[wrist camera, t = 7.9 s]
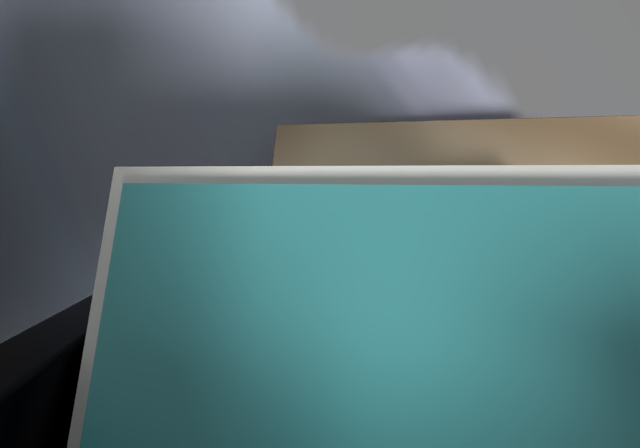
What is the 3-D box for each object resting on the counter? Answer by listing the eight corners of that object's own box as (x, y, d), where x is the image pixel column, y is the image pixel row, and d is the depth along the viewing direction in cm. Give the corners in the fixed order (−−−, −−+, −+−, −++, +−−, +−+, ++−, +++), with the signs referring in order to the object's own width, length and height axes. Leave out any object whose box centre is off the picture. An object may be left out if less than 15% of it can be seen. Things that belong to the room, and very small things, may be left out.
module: (593, 502, 12) (869, 880, 4) (300, 455, 14) (16, 623, 6) (591, 281, 13) (802, 151, 5) (317, 266, 15) (99, 158, 7)
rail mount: (675, 699, 13) (735, 809, 10) (242, 593, 16) (186, 651, 13) (655, 131, 15) (698, 79, 12) (289, 138, 19) (252, 98, 16)
